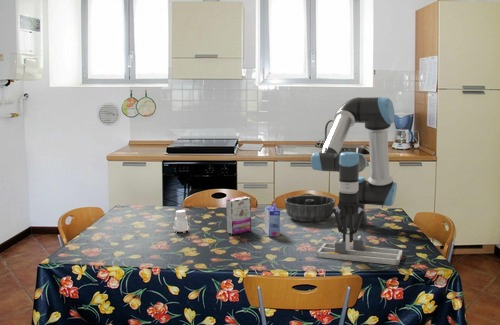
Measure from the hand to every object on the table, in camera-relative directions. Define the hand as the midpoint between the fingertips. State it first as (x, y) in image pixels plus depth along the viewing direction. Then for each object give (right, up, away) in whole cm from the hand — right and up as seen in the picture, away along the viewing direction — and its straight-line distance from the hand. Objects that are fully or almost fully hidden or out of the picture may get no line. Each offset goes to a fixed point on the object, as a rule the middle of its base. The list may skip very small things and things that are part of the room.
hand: (347, 249), depth 226 cm
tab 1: (-3, -3, +1) cm, 4 cm away
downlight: (-72, +2, +47) cm, 86 cm away
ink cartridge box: (-29, +1, +40) cm, 49 cm away
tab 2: (+5, -2, +5) cm, 8 cm away
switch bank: (+5, -4, +2) cm, 7 cm away
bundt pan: (-8, +5, +68) cm, 69 cm away
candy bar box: (-44, +1, +44) cm, 62 cm away
